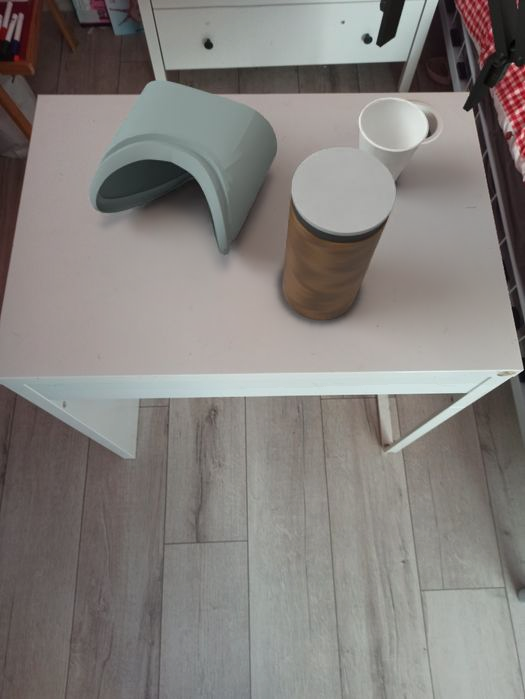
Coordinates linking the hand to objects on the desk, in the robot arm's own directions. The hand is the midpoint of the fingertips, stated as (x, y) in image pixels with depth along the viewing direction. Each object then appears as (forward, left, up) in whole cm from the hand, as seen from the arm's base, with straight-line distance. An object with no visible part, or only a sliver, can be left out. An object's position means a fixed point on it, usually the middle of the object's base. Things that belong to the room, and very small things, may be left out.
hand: (427, 71), depth 58 cm
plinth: (-2, +20, -22) cm, 30 cm away
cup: (+2, -2, -22) cm, 22 cm away
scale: (-2, +20, -2) cm, 20 cm away
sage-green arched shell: (+23, +20, -22) cm, 38 cm away
